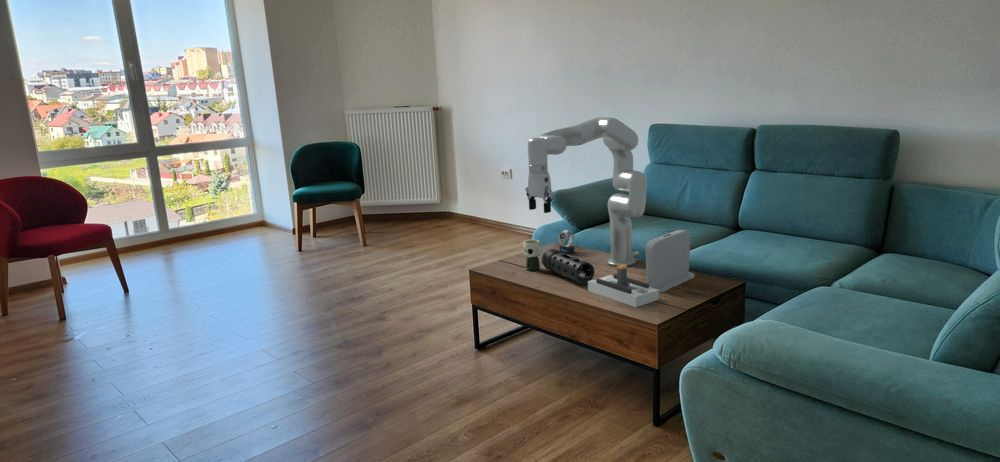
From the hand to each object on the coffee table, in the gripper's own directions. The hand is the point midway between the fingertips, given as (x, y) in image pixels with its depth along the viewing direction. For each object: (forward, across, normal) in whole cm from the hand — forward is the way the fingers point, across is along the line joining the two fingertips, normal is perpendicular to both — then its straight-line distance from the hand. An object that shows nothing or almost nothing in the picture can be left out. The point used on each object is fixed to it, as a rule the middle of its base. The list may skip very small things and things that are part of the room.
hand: (540, 210), depth 268 cm
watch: (+31, +31, -39) cm, 59 cm away
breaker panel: (+31, -32, -14) cm, 47 cm away
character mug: (+31, +20, -10) cm, 39 cm away
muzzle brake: (+32, 0, -13) cm, 34 cm away
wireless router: (+32, -33, -39) cm, 60 cm away
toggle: (+27, -32, -14) cm, 44 cm away
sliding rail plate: (+27, -32, -14) cm, 44 cm away
